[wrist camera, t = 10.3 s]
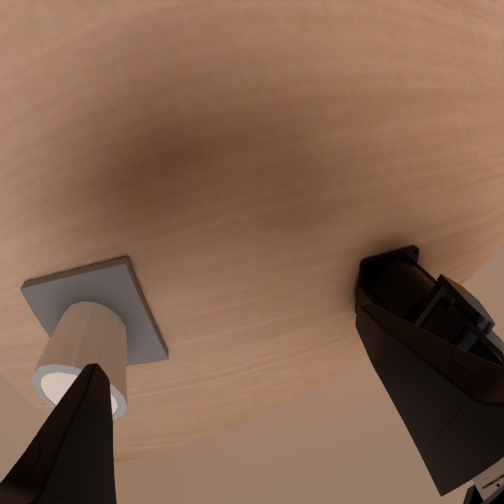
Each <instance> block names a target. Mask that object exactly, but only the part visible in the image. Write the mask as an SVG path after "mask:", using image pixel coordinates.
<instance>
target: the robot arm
mask: <svg viewBox="0 0 504 504" xmlns="http://www.w3.org/2000/svg"><path fill="white" fill-rule="evenodd" d="M418 255H419V248H418V247H417V246H411V247H407V248H404V249H400V250H396V251H393V252H389V253H385V254H382V255H378V256H374V257H371V258H367V259H364V260H363V261H362V262H361V265H360V275H359V283H358V286H357V296H356V312H355V313H356V328H357V331H358V333H359V335H360V338H361V340H362V342H363V345H364V347H365V349H366V352H367V354H368V356H369V359H370V361H371V363H372V365H373V367H374V369H375V371H376V372H377V374H378V376H379V378H380V380H381V381H382V383H383V385H384V386H385V388H386V390H387V392H388V394H389V396H390V398H391V399H392V401H393V403H394V405H395V407H396V409H397V410H398V412H399V414H400V416H401V418H402V420H403V422H404V423H405V425H406V427H407V429H408V431H409V433H410V435H411V437H412V439H413V441H414V443H415V445H416V447H417V449H418V451H419V453H420V454H421V457H422V459H423V461H424V463H425V465H426V467H427V469H428V471H429V473H430V475H431V477H432V479H433V481H434V483H435V486H436V488H437V490H438V492H439V494H440V496H441V497H442V496H444V495H445V494H447V493H449V492H451V491H453V490H455V489H456V488H458V487H460V486H461V485H463V484H465V483H466V482H468V481H470V480H471V479H472V480H473V482H474V484H473V485H472V486H471V487H470V488H468V489H467V493H466V496H465V499H464V502H463V504H504V343H503V341H502V340H501V339H500V338H499V337H498V336H497V335H496V334H495V333H494V332H493V331H492V328H493V327H494V326H495V322H494V321H493V320H492V318H491V317H490V315H489V314H488V313H487V311H486V310H485V308H484V307H483V306H482V304H481V303H480V302H479V301H478V300H477V299H476V298H475V297H474V296H473V295H472V294H471V293H469V292H468V291H467V290H466V289H465V288H464V287H462V286H461V285H459V284H457V283H456V282H454V281H452V280H451V279H449V278H447V277H446V276H444V275H442V274H440V276H439V277H438V279H437V280H438V281H436V280H435V279H434V278H433V277H432V276H431V275H430V274H429V273H428V272H426V271H425V270H424V269H423V268H422V267H421V266H420V265H419V264H417V260H418ZM366 264H367V265H366ZM365 265H366V266H365ZM0 504H117V503H116V492H115V478H114V458H113V415H112V404H111V391H110V381H109V378H108V376H107V375H106V373H105V372H104V371H103V369H102V368H101V366H100V365H99V364H98V363H90V364H87V365H86V366H85V367H84V368H83V370H82V371H81V372H80V374H79V375H78V376H77V378H76V379H75V380H74V382H73V383H72V384H71V386H70V387H69V389H68V390H67V391H66V393H65V394H64V395H63V397H62V398H61V400H60V401H59V402H58V404H57V405H56V407H55V408H54V410H53V411H52V412H51V414H50V415H49V417H48V418H47V420H46V421H45V423H44V424H43V426H42V427H41V428H40V430H39V431H38V433H37V435H36V436H35V438H34V439H33V440H32V442H31V443H30V445H29V446H28V448H27V449H26V451H25V452H24V453H23V455H22V456H21V457H20V459H19V460H18V461H17V463H16V464H15V465H14V466H13V468H12V469H11V470H10V472H9V473H8V474H7V475H6V477H5V478H4V479H3V480H2V482H1V483H0Z"/></svg>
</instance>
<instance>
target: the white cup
mask: <svg viewBox="0 0 504 504" xmlns="http://www.w3.org/2000/svg"><path fill="white" fill-rule="evenodd" d="M90 363H98V364H99V365H100V366H101V368H102V369H103V371H104V372H105V373H106V375H107V376H108V378H109V381H110V391H111V404H112V415H113V421H114V420H116V419H118V418H120V417H122V416H124V414H125V412H126V410H127V408H128V407H127V333H126V326H125V324H124V323H123V321H122V320H121V318H120V317H119V315H117V314H116V313H115V312H114V311H112V310H111V309H110V308H108V307H106V306H104V305H101V304H99V303H96V302H86V301H81V302H78V303H75V304H72V305H71V306H70V307H69V308H68V309H67V310H66V311H65V312H64V314H63V316H62V318H61V320H60V321H59V323H58V325H57V327H56V329H55V330H54V332H53V334H52V336H51V338H50V340H49V342H48V344H47V346H46V348H45V349H44V351H43V353H42V355H41V357H40V360H39V362H38V364H37V366H36V368H35V370H34V372H33V386H34V387H35V389H36V391H37V392H38V394H39V396H40V397H42V398H43V399H44V400H45V401H46V402H47V403H48V404H49V405H50V406H52V407H53V408H55V407H56V405H57V404H58V402H59V401H60V400H61V398H62V397H63V395H64V394H65V393H66V391H67V390H68V389H69V387H70V386H71V384H72V383H73V382H74V380H75V379H76V378H77V376H78V375H79V374H80V372H81V371H82V370H83V368H84V367H85V366H86V365H87V364H90Z"/></svg>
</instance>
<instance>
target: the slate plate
mask: <svg viewBox="0 0 504 504" xmlns="http://www.w3.org/2000/svg"><path fill="white" fill-rule="evenodd" d="M20 290H21V291H22V293H23V295H24V297H25V299H26V300H27V302H28V304H29V305H30V307H31V309H32V310H33V312H34V314H35V315H36V317H37V319H38V320H39V322H40V323H41V325H42V327H43V328H44V330H45V331H46V333H47V334H48V336H49V337H50V338H51V336H52V334H53V332H54V330H55V329H56V327H57V325H58V323H59V321H60V320H61V318H62V316H63V314H64V312H65V311H66V310H67V309H68V308H69V307H70V306H71V305H72V304H75V303H78V302H81V301H86V302H96V303H99V304H101V305H104V306H106V307H108V308H110V309H111V310H112V311H114V312H115V313H116V314H117V315H119V317H120V318H121V320H122V321H123V323H124V324H125V326H126V333H127V366H128V365H135V364H142V363H148V362H155V361H161V360H167V359H168V349H167V347H166V345H165V343H164V341H163V339H162V337H161V334H160V332H159V330H158V328H157V326H156V323H155V321H154V319H153V317H152V315H151V312H150V310H149V308H148V305H147V303H146V301H145V298H144V296H143V293H142V291H141V289H140V286H139V284H138V281H137V279H136V276H135V273H134V271H133V268H132V266H131V263H130V260H129V258H128V256H127V257H123V258H119V259H114V260H110V261H106V262H102V263H98V264H94V265H89V266H85V267H81V268H77V269H73V270H69V271H65V272H61V273H57V274H53V275H49V276H45V277H41V278H38V279H34V280H30V281H26V282H24V284H23V285H22V287H21V288H20Z"/></svg>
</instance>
